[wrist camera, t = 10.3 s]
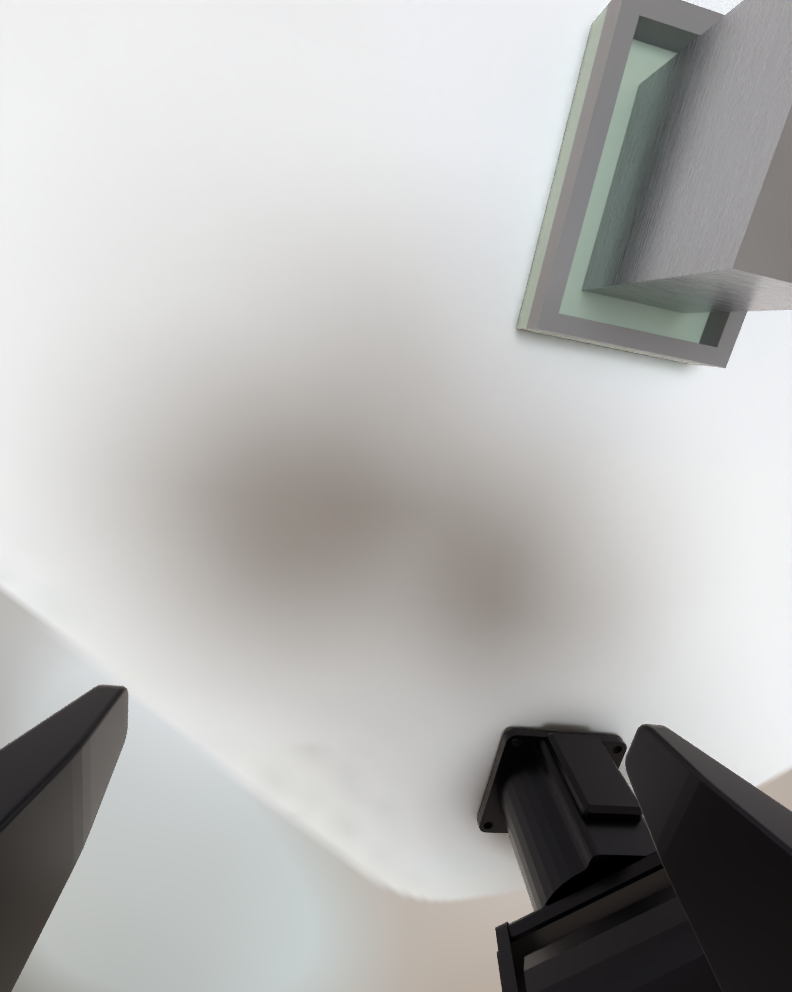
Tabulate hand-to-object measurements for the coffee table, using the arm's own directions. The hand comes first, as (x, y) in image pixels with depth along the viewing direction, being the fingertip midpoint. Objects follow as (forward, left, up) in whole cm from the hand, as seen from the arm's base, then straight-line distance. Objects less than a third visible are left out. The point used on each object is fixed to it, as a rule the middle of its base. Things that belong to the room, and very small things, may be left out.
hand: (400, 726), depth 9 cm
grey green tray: (+12, -8, -12) cm, 19 cm away
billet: (+12, -8, -11) cm, 18 cm away
